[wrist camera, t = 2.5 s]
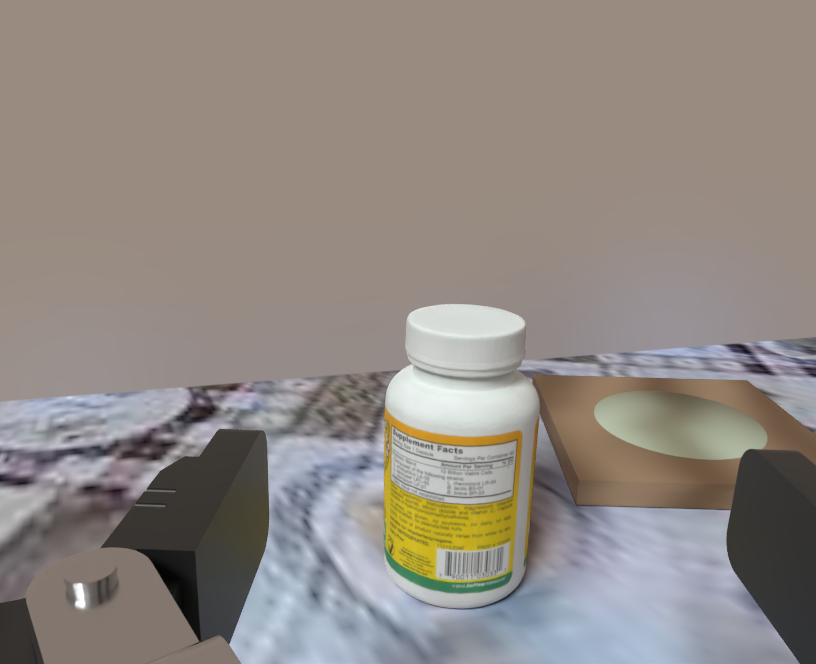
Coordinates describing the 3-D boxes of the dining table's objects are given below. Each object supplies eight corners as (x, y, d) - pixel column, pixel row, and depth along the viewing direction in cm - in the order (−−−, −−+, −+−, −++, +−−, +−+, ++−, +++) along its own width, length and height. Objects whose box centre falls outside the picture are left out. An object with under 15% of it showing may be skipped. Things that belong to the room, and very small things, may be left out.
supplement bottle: (473, 637, 22) (490, 355, 19) (352, 570, 25) (351, 319, 22) (552, 559, 26) (575, 317, 23) (439, 510, 29) (447, 291, 27)
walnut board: (743, 398, 42) (747, 379, 42) (877, 513, 30) (883, 488, 29) (531, 393, 42) (533, 374, 42) (576, 504, 30) (578, 479, 30)
